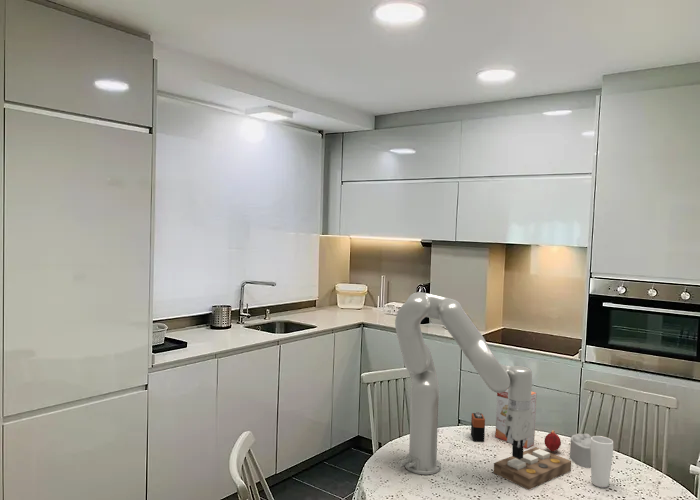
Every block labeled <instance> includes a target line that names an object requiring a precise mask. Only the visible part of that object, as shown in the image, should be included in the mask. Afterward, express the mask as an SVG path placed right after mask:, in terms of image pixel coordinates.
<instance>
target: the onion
mask: <svg viewBox="0 0 700 500" xmlns="http://www.w3.org/2000/svg"><path fill="white" fill-rule="evenodd" d="M543 441H544V445H545V447H546V448H547V449H548V450H549V452H550V453H553V452H555V451H557V450H559V449H560V448H561V446H562V441H561V438H560V437H559V435H558V434H557V433H556V432H555V430H551V432H550V433H548V434H547V435H546V436H545V437H544V440H543Z"/></svg>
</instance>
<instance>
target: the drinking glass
mask: <svg viewBox="0 0 700 500" xmlns="http://www.w3.org/2000/svg"><path fill="white" fill-rule="evenodd" d="M590 454H591V468H590V473H591V475H590V476H591V478H590V479H591V480H590V481H591V484H592V485H594V487H595V486H596V487H598V488H608V487H609V485H610V478H611V477H610V476H611V469H612V463H613V455H614V440H613V439H611V438H609V437H607V436H601V435H593V436H591V446H590Z"/></svg>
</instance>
